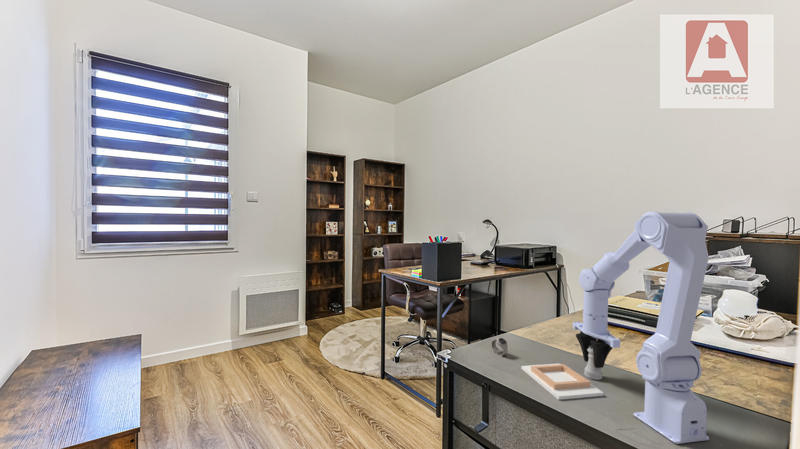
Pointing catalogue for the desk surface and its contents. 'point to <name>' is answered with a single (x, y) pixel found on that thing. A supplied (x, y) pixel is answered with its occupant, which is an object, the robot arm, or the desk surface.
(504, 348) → the wristwatch
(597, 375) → the rook chess piece
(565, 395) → the socket holder
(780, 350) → the desk surface
